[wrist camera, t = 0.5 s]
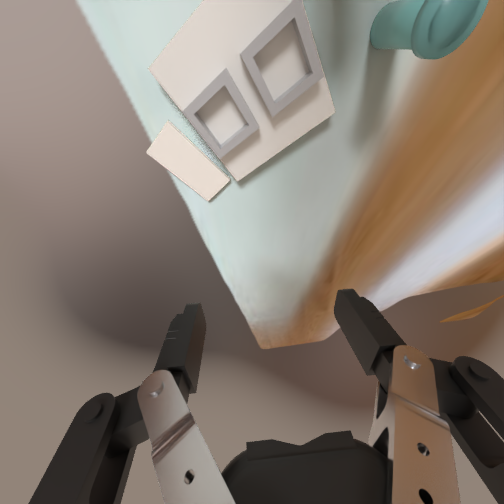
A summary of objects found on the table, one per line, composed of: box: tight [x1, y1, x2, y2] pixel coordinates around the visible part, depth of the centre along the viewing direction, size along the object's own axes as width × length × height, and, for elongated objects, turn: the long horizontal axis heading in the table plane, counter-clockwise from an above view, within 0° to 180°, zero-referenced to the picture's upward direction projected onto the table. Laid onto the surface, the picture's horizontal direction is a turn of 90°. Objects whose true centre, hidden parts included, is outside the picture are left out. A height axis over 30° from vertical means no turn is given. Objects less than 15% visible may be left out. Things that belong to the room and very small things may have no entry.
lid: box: [146, 120, 230, 201], centre depth 32 cm, size 12×6×1 cm, turn 42°
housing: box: [148, 0, 336, 182], centre depth 25 cm, size 17×17×4 cm
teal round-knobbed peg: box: [370, 0, 488, 59], centre depth 19 cm, size 5×5×10 cm
